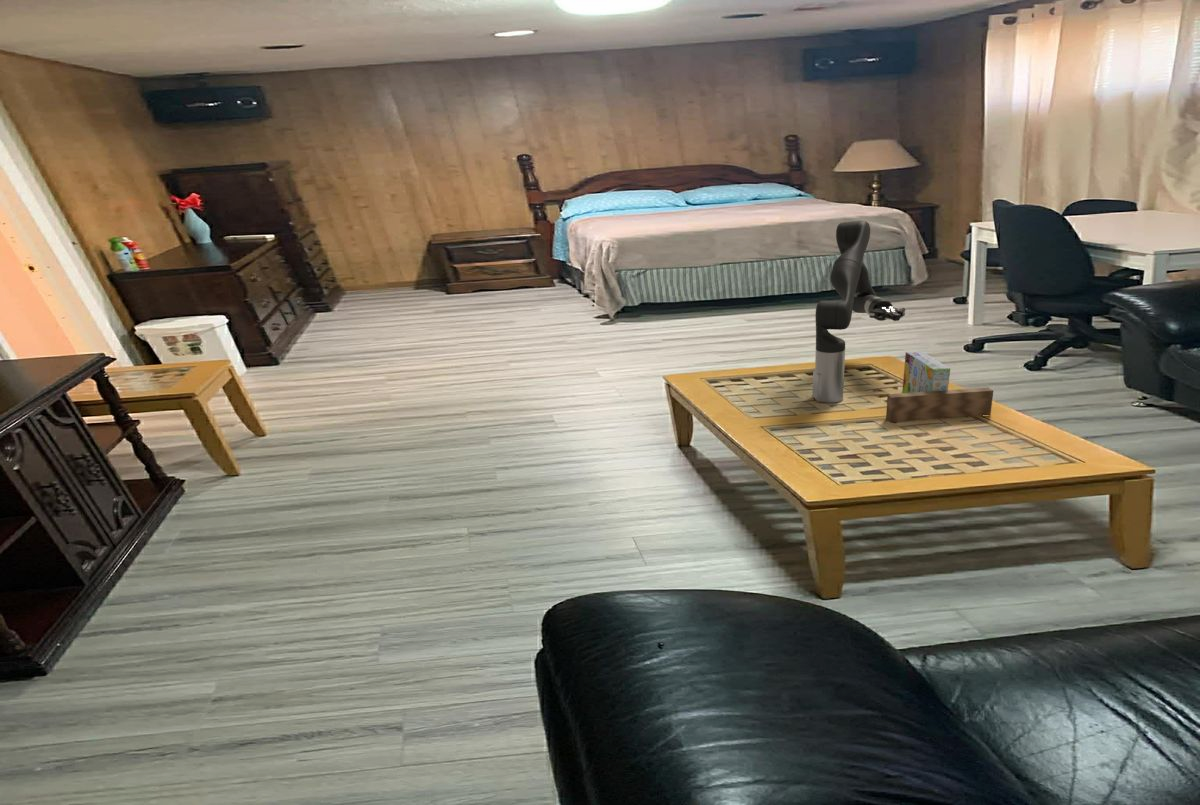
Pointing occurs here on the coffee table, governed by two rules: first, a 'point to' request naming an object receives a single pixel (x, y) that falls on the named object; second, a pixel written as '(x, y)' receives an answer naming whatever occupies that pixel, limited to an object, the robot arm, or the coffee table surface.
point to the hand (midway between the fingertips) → (897, 317)
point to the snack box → (924, 373)
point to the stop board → (939, 404)
